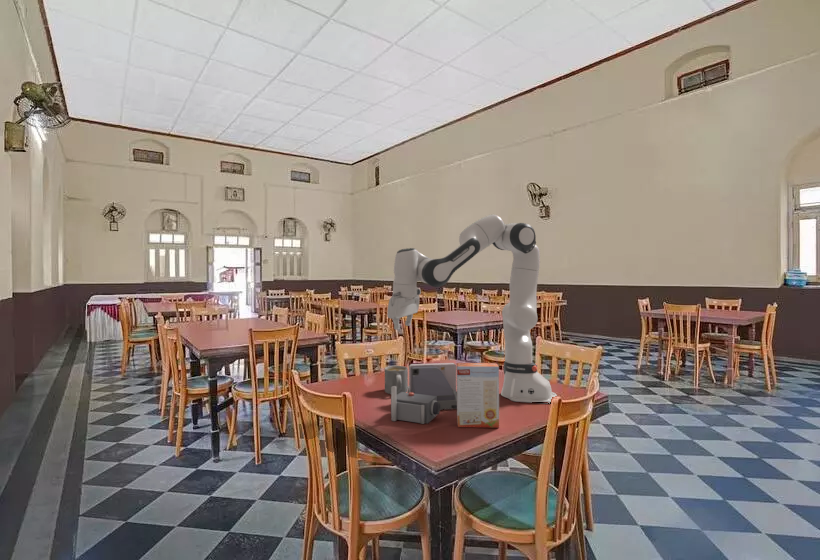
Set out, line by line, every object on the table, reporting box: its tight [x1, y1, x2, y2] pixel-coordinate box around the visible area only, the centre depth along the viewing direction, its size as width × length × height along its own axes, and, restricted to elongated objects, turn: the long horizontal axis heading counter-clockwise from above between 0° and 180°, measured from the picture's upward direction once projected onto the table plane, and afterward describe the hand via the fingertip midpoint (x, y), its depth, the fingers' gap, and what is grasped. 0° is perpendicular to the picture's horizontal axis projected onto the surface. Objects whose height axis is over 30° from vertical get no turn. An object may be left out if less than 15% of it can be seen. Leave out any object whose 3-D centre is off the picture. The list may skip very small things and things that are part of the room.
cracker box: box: [456, 362, 500, 429], centre depth 149 cm, size 14×6×21 cm, turn 86°
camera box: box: [397, 392, 441, 424], centre depth 157 cm, size 16×9×8 cm, turn 67°
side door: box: [390, 386, 425, 425], centre depth 151 cm, size 12×3×12 cm, turn 67°
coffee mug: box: [384, 365, 409, 395], centre depth 188 cm, size 13×10×10 cm
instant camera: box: [407, 362, 457, 411], centre depth 173 cm, size 21×21×15 cm
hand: (402, 327), depth 166 cm, fingers open, 8 cm apart
